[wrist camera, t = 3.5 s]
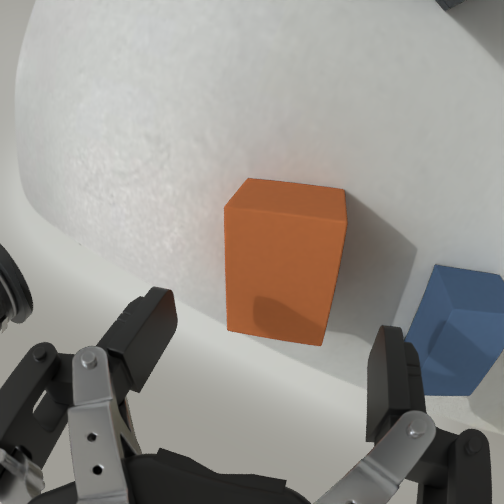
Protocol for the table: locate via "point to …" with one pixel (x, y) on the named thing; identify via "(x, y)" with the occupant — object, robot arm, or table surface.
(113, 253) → the table surface
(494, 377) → the table surface
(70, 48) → the table surface
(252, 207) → the orange block
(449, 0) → the dark grey divided tray
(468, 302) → the blue block
